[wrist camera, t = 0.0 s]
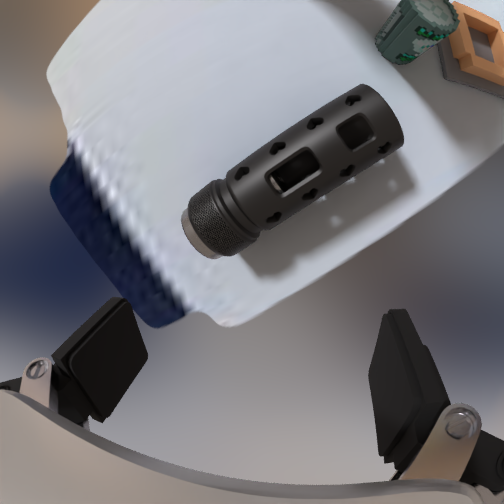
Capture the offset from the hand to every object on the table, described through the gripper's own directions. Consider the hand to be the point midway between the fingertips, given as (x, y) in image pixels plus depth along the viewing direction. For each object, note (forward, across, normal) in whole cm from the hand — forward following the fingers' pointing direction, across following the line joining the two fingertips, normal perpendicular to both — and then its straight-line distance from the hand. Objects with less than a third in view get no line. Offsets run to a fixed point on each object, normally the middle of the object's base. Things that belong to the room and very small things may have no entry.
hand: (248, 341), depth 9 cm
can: (+31, -17, -23) cm, 42 cm away
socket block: (+31, -33, -27) cm, 53 cm away
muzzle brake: (+32, 0, -3) cm, 32 cm away
